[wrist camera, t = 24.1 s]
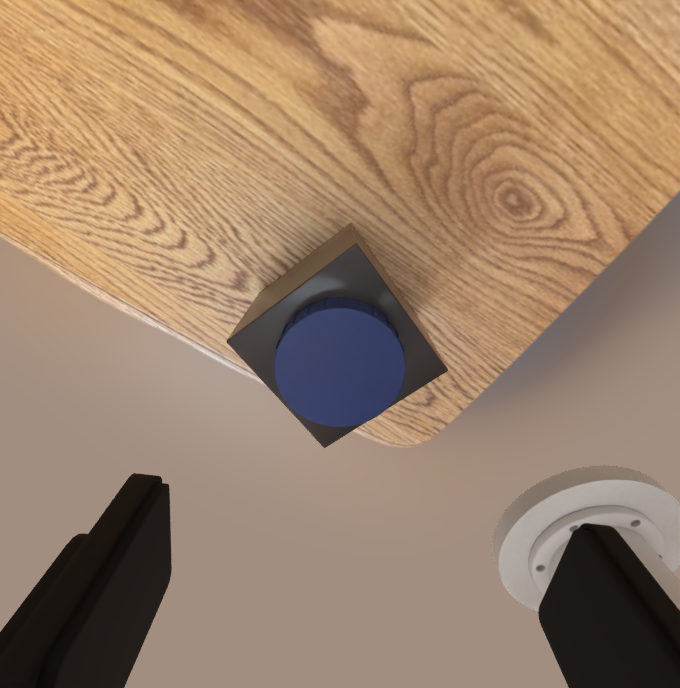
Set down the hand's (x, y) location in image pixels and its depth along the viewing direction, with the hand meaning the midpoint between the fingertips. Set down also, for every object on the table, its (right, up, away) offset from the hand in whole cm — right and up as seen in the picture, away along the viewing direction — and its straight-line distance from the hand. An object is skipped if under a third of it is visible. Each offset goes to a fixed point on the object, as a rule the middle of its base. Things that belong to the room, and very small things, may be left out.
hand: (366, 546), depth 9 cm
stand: (-1, +8, +23) cm, 24 cm away
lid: (-1, +3, +12) cm, 13 cm away
